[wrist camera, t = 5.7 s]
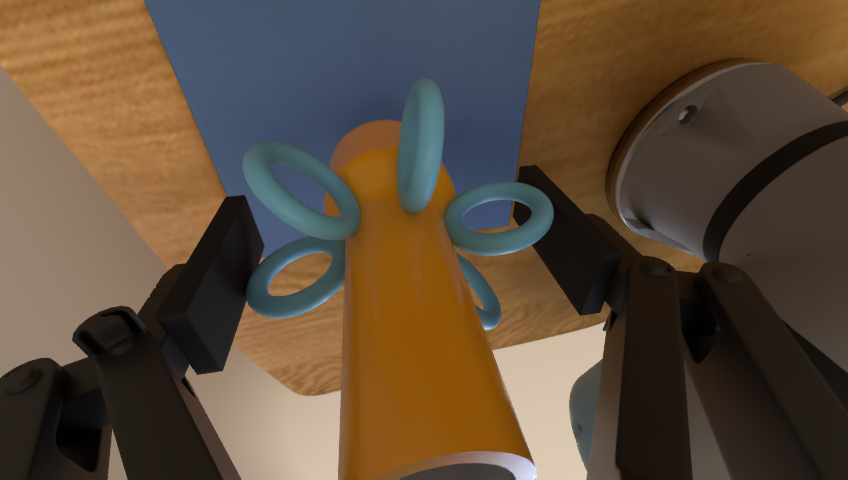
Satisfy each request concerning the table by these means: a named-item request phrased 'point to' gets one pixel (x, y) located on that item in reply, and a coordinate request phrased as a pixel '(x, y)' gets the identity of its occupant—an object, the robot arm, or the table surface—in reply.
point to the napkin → (351, 84)
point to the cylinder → (403, 296)
